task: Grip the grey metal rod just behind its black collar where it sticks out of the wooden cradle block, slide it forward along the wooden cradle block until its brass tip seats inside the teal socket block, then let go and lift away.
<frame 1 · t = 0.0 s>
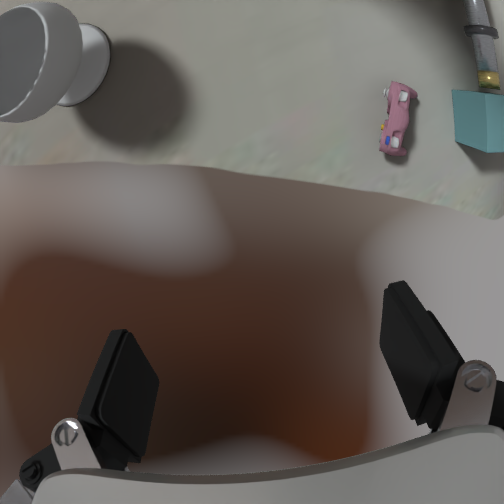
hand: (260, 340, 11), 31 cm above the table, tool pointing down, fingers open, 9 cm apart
video game controller: (389, 117, 36), on the table
chalice: (73, 64, 30), on the table
rod: (475, 6, 22), point 4 cm above the table, slide at 0.0 cm
socket block: (474, 116, 34), on the table
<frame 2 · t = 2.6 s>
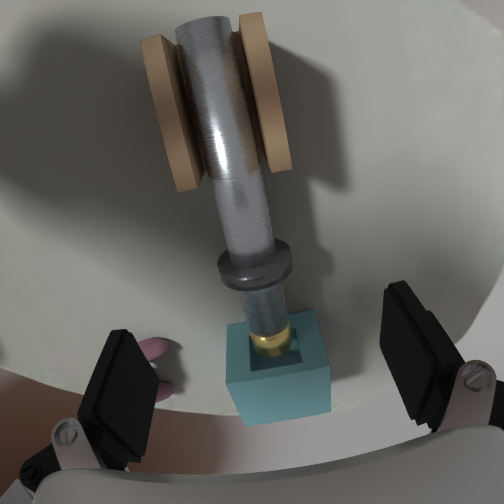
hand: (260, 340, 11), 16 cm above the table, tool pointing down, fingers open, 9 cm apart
video game controller: (149, 360, 34), on the table
rod: (243, 209, 21), point 4 cm above the table, slide at 0.0 cm
wooden cradle block: (222, 99, 21), on the table
socket block: (275, 344, 33), on the table
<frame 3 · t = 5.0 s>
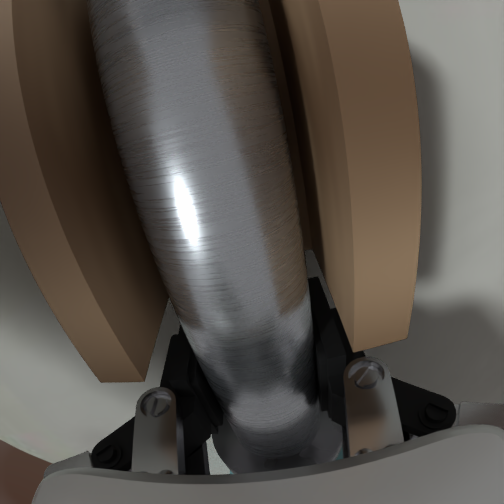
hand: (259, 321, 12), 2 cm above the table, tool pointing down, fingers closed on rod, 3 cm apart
rod: (261, 369, 9), point 4 cm above the table, slide at 0.0 cm, touching gripper
wooden cradle block: (214, 106, 10), on the table
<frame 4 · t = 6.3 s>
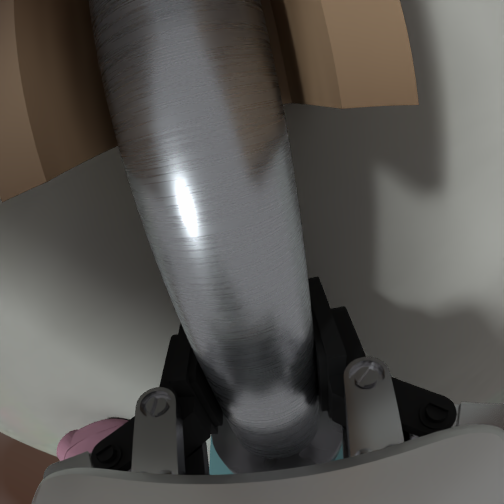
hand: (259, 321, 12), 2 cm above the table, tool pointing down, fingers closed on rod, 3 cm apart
video game controller: (114, 437, 21), on the table
rod: (261, 368, 9), point 4 cm above the table, slide at 4.5 cm, touching gripper
socket block: (289, 432, 19), on the table
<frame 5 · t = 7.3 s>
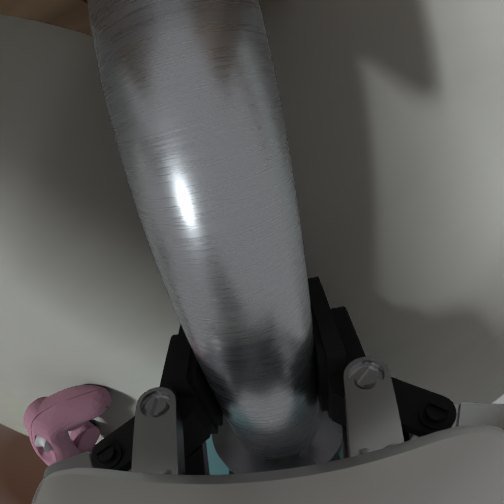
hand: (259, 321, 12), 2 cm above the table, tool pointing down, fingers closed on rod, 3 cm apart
video game controller: (92, 411, 19), on the table
rod: (261, 369, 9), point 4 cm above the table, slide at 8.6 cm, touching gripper
socket block: (283, 404, 17), on the table
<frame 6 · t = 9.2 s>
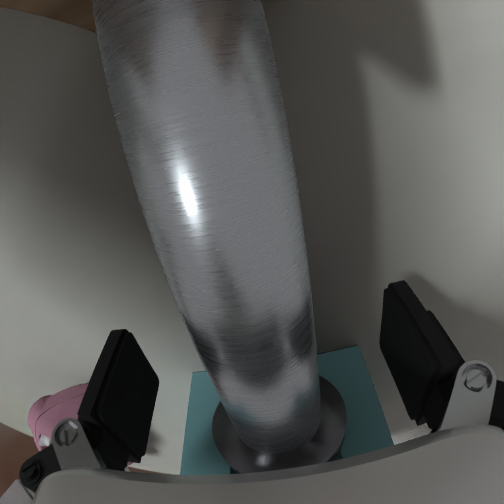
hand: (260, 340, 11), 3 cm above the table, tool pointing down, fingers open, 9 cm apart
video game controller: (97, 410, 19), on the table
rod: (262, 362, 9), point 4 cm above the table, slide at 8.5 cm
socket block: (284, 402, 17), on the table
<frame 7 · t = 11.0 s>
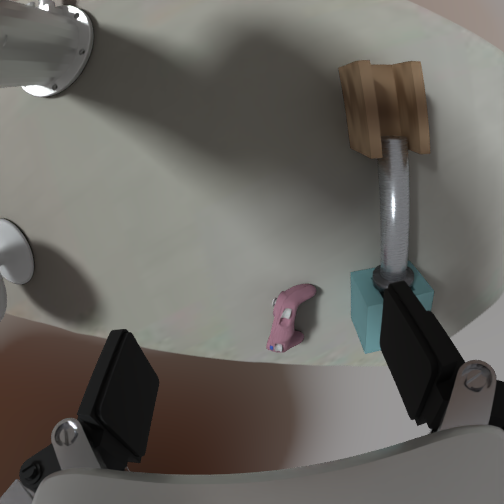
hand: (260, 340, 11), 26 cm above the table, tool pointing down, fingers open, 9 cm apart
video game controller: (288, 308, 43), on the table
chalice: (10, 250, 39), on the table
rod: (394, 247, 34), point 4 cm above the table, slide at 8.5 cm
wooden cradle block: (372, 105, 30), on the table
socket block: (380, 290, 41), on the table
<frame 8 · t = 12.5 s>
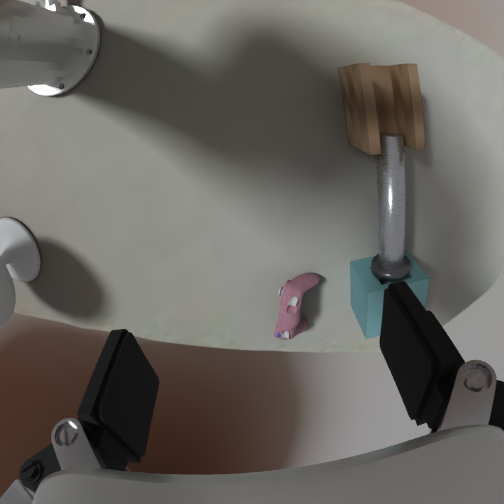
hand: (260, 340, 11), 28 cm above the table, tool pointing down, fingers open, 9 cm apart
video game controller: (293, 297, 45), on the table
chalice: (15, 249, 40), on the table
rod: (392, 237, 36), point 4 cm above the table, slide at 8.5 cm
wooden cradle block: (370, 104, 32), on the table
socket block: (378, 278, 44), on the table
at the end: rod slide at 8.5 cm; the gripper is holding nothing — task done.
